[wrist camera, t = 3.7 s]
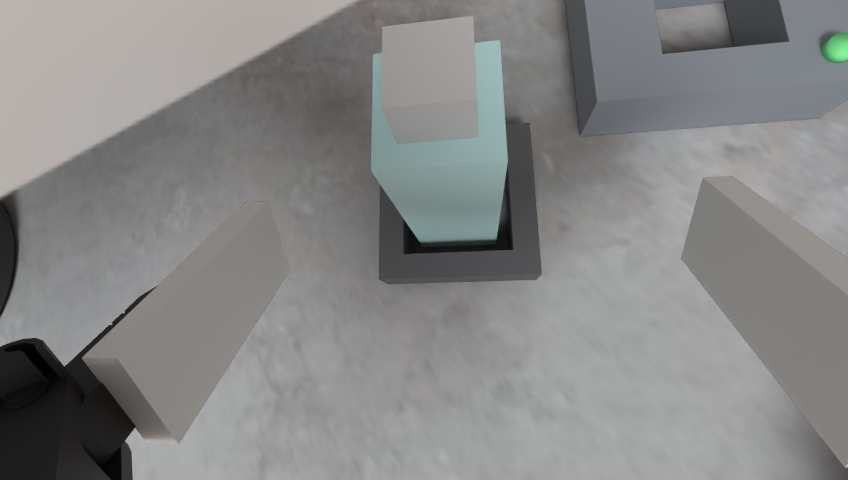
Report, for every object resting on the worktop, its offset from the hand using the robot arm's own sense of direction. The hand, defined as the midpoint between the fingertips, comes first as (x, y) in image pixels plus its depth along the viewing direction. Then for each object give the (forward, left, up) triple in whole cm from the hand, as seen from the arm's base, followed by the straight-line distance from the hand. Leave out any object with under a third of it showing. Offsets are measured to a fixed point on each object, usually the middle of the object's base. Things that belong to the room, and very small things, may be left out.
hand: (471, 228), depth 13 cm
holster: (-1, +3, -9) cm, 10 cm away
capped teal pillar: (-1, +3, -9) cm, 10 cm away
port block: (+12, +12, -9) cm, 20 cm away
